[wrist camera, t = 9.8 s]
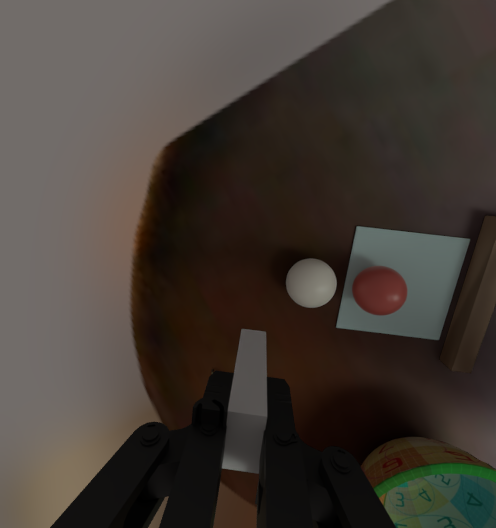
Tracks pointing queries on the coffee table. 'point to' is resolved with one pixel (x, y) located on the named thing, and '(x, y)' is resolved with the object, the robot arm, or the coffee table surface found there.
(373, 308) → the red ball
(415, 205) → the coffee table surface
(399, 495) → the bowl
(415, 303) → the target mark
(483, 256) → the strip
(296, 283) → the white ball
